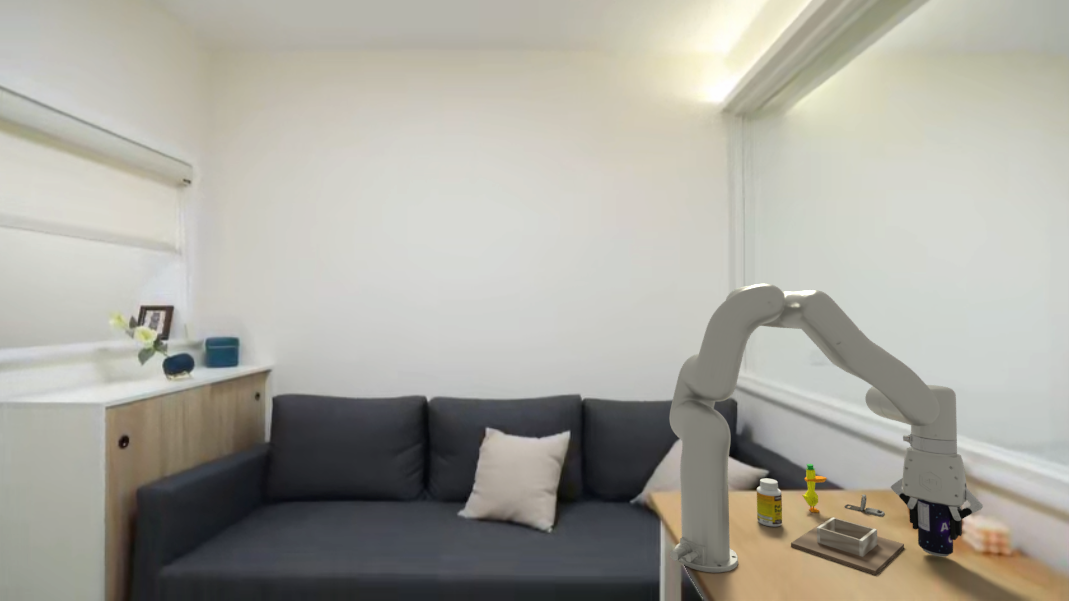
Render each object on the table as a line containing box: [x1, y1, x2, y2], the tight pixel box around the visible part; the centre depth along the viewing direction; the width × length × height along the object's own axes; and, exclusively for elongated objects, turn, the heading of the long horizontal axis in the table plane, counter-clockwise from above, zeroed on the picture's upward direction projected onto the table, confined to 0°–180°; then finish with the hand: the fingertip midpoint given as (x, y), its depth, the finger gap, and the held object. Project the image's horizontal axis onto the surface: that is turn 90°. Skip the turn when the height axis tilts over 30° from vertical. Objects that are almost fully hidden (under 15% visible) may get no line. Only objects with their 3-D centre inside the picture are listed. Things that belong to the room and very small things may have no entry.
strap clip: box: [843, 494, 885, 518], centre depth 130 cm, size 8×3×4 cm, turn 42°
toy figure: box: [801, 463, 828, 514], centre depth 130 cm, size 7×4×12 cm, turn 94°
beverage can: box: [917, 499, 954, 558], centre depth 104 cm, size 6×6×12 cm
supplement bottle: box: [756, 477, 783, 528], centre depth 123 cm, size 6×6×10 cm
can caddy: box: [790, 516, 905, 576], centre depth 109 cm, size 18×16×4 cm
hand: (935, 531), depth 104 cm, fingers closed on beverage can, 5 cm apart
